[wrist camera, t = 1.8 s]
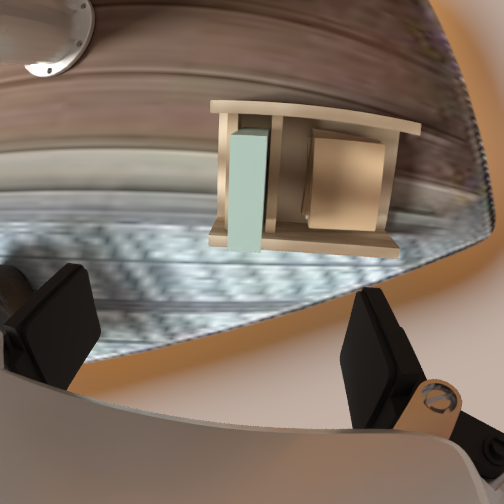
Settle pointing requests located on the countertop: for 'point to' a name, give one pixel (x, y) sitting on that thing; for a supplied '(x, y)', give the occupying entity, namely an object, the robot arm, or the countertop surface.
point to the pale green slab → (247, 188)
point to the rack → (304, 174)
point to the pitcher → (12, 293)
